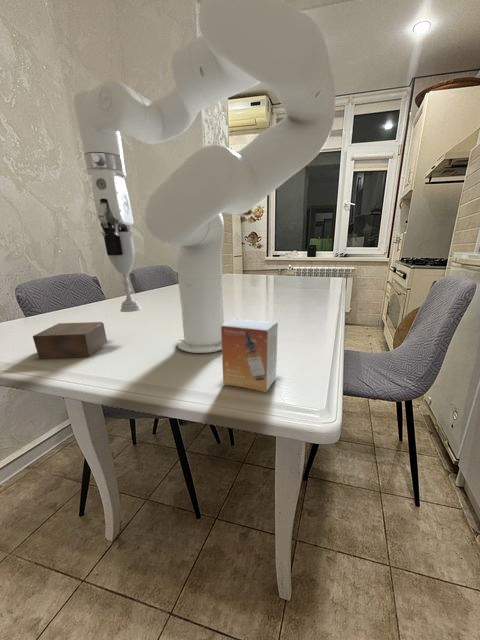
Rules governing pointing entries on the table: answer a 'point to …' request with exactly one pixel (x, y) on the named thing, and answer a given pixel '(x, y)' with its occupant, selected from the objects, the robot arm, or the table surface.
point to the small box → (249, 353)
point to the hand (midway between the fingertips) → (121, 254)
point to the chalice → (125, 268)
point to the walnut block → (70, 340)
